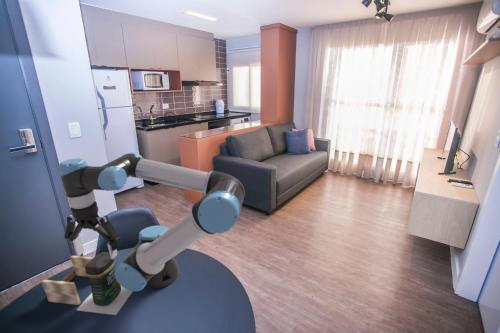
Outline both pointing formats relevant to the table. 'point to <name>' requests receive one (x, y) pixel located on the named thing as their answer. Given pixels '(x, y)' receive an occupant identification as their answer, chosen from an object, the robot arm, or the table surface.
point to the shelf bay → (66, 283)
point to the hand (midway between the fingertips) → (97, 255)
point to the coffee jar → (103, 279)
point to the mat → (108, 309)
